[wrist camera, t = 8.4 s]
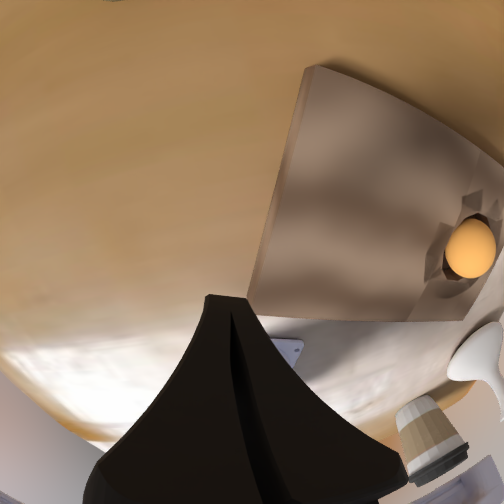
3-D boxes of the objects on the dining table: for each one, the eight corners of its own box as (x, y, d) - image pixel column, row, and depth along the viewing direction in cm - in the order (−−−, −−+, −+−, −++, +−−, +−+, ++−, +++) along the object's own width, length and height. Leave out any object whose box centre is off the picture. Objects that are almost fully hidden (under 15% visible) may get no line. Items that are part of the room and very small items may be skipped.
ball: (474, 298, 17) (429, 266, 20) (483, 276, 20) (444, 250, 23) (503, 245, 14) (452, 213, 17) (506, 230, 17) (463, 204, 20)
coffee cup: (378, 430, 41) (403, 495, 28) (391, 404, 35) (424, 482, 22) (428, 408, 41) (456, 466, 28) (447, 377, 35) (485, 444, 22)
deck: (453, 309, 26) (462, 320, 24) (246, 296, 21) (249, 314, 19) (512, 180, 18) (525, 187, 17) (304, 68, 14) (315, 64, 12)
